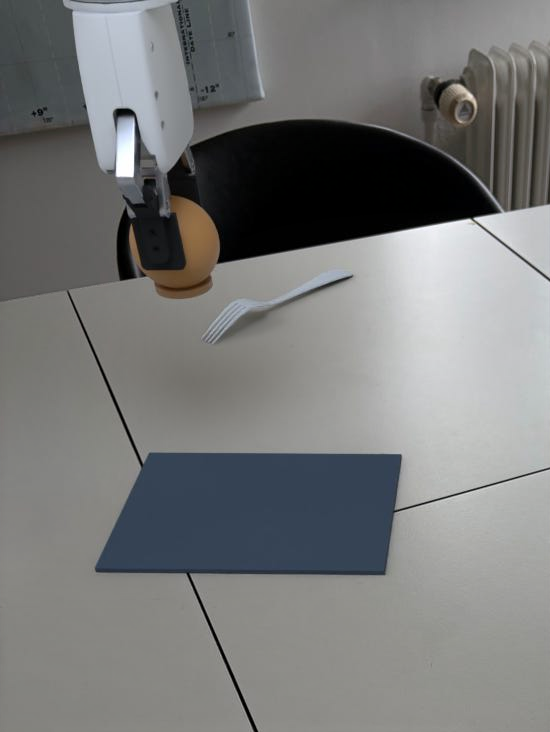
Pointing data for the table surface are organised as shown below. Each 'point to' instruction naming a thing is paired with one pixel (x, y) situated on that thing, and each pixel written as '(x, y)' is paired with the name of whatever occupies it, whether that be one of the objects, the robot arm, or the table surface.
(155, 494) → the mat
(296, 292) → the fork
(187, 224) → the orange ball with stem
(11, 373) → the table surface
